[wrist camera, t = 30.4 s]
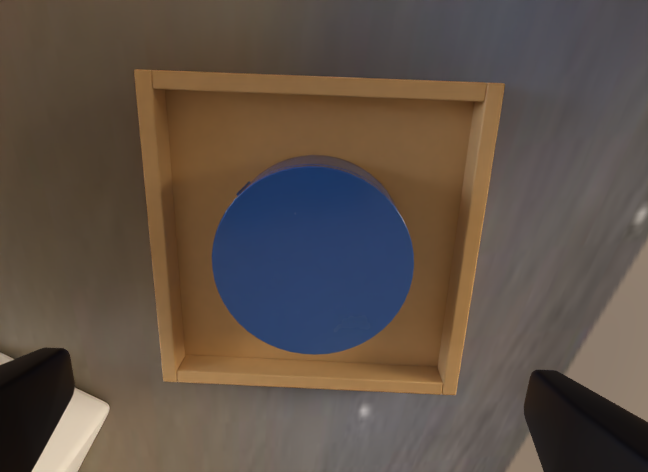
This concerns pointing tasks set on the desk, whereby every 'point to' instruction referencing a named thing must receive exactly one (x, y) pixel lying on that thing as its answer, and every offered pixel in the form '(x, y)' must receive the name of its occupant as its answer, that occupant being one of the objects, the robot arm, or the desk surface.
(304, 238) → the jar lid
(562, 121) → the desk surface
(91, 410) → the medicine bottle
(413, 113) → the tray
